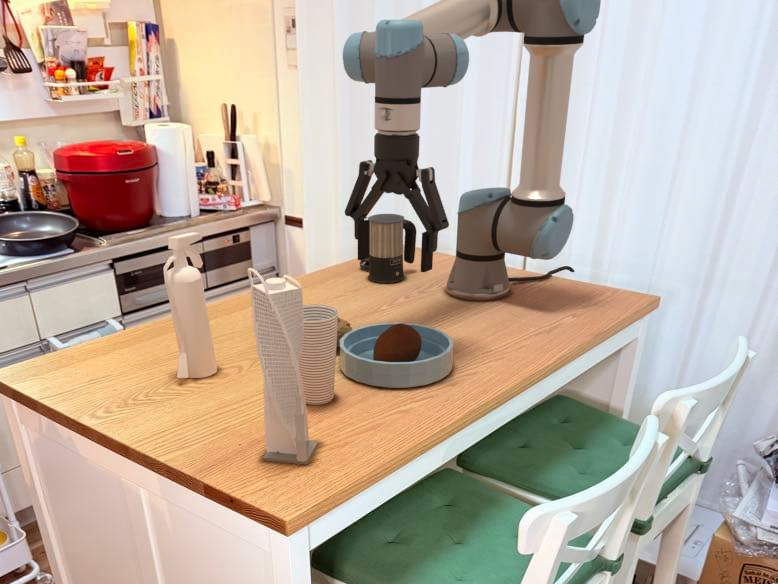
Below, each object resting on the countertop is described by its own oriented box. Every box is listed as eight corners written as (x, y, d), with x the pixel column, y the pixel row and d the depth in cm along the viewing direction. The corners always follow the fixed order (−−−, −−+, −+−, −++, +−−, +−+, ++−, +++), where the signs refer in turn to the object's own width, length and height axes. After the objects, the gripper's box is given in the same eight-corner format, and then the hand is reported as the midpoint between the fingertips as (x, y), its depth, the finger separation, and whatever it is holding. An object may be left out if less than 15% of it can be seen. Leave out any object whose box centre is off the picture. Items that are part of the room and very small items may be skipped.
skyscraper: (254, 459, 119) (235, 276, 103) (270, 435, 126) (255, 259, 110) (306, 464, 118) (295, 279, 102) (320, 440, 124) (312, 263, 108)
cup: (296, 388, 141) (290, 304, 132) (342, 388, 141) (339, 304, 132) (290, 408, 134) (284, 320, 125) (339, 408, 134) (336, 321, 125)
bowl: (380, 339, 162) (380, 315, 159) (471, 360, 152) (473, 336, 149) (318, 372, 147) (316, 347, 144) (414, 399, 137) (415, 373, 134)
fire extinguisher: (161, 381, 144) (137, 242, 130) (201, 359, 153) (183, 227, 138) (190, 388, 141) (169, 247, 127) (229, 365, 150) (213, 231, 136)
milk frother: (391, 286, 192) (392, 223, 183) (339, 276, 199) (338, 215, 190) (420, 272, 202) (422, 212, 193) (369, 263, 209) (369, 205, 200)
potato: (361, 368, 148) (361, 328, 143) (398, 351, 155) (399, 312, 150) (392, 379, 144) (393, 337, 139) (429, 360, 151) (431, 321, 146)
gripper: (323, 128, 130) (326, 258, 142) (451, 140, 118) (443, 280, 130) (349, 124, 135) (350, 249, 147) (474, 135, 123) (465, 271, 135)
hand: (394, 264), depth 139 cm, fingers open, 13 cm apart
